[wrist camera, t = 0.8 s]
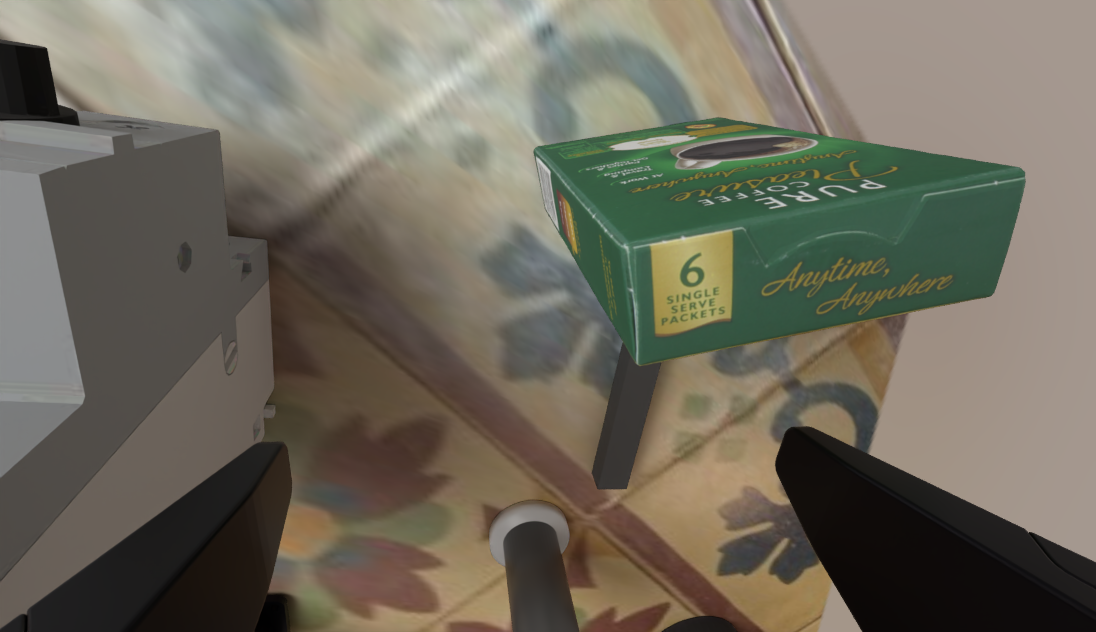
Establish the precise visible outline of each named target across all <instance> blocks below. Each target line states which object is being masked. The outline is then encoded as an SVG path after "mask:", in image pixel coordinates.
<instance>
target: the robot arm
mask: <svg viewBox="0 0 1096 632" xmlns="http://www.w3.org/2000/svg"><path fill="white" fill-rule="evenodd" d="M775 467H776V472H777V475H778V477H779V479H780V481H781V483H782V485H783V487H784V490H785V492H786V494H787V496H788V498H789V500H790V502H791V504H792V506H793V508H794V511H795V513H796V515H797V517H798V519H799V521H800V523H801V525H802V527H803V529H804V531H805V534H806V536H807V538H808V540H809V541H810V543H811V545H812V547H813V549H814V551H815V553H816V554H817V556H818V558H819V560H820V561H821V563H822V565H823V566H824V568H825V570H826V571H827V573H828V575H829V576H830V578H831V580H832V581H833V583H834V585H835V586H836V588H837V590H838V592H839V593H840V595H841V597H842V598H843V600H844V602H845V603H846V605H847V607H848V608H849V610H850V612H851V613H852V615H853V617H854V619H855V620H856V622H857V623H858V625H859V627H860V629H861V630H862V632H1096V562H1094V561H1092V560H1090V559H1088V558H1086V557H1083V556H1081V555H1079V554H1077V553H1075V552H1073V551H1070V550H1068V549H1066V548H1064V547H1062V546H1060V545H1057V544H1056V543H1053V542H1051V541H1049V540H1047V539H1045V538H1043V537H1041V536H1039V535H1037V534H1035V533H1032V532H1029V533H1028V532H1027V531H1026V530H1025V529H1024V528H1022V527H1020V526H1018V525H1016V524H1013V523H1011V522H1009V521H1007V520H1005V519H1003V518H1001V517H999V516H997V515H995V514H993V513H990V512H988V511H986V510H984V509H982V508H980V507H978V506H976V505H974V504H971V503H969V502H967V501H965V500H963V499H961V498H959V497H957V496H955V495H953V494H950V493H949V492H946V491H944V490H942V489H940V488H938V487H936V486H934V485H932V484H930V483H927V482H926V481H923V480H921V479H919V478H917V477H915V476H913V475H911V474H909V473H907V472H905V471H903V470H900V469H898V468H896V467H894V466H892V465H890V464H888V463H886V462H884V461H881V460H880V459H877V458H875V457H873V456H871V455H869V454H867V453H865V452H863V451H861V450H859V449H856V448H854V447H852V446H850V445H848V444H846V443H844V442H842V441H840V440H838V439H836V438H833V437H831V436H829V435H827V434H825V433H823V432H821V431H819V430H817V429H815V428H812V427H808V426H802V427H791V428H789V429H788V430H787V431H786V432H785V434H784V437H783V440H782V443H781V446H780V449H779V452H778V455H777V457H776V461H775ZM291 493H292V478H291V471H290V463H289V456H288V449H287V446H286V444H285V443H283V442H258V443H256V444H254V445H252V446H251V447H250V448H248V449H247V450H245V451H244V452H243V453H241V454H240V455H239V456H237V457H236V458H234V459H233V460H232V461H230V462H229V463H228V464H226V465H225V466H223V467H222V468H221V469H219V470H218V471H217V472H215V473H214V474H212V475H211V476H210V477H208V478H207V479H206V480H204V481H203V482H201V483H200V484H199V485H197V486H196V487H195V488H193V489H192V490H190V491H189V492H188V493H186V494H185V495H184V496H182V497H181V498H179V499H178V500H177V501H175V502H174V503H173V504H171V505H170V506H168V507H167V508H166V509H164V510H163V511H162V512H160V513H159V514H157V515H156V516H155V517H153V518H152V519H151V520H149V521H148V522H146V523H145V524H144V525H142V526H141V527H140V528H138V529H137V530H135V531H134V532H133V533H131V534H130V535H129V536H127V537H126V538H124V539H123V540H122V541H120V542H119V543H118V544H116V545H115V546H113V547H112V548H111V549H109V550H108V551H107V552H105V553H104V554H102V555H101V556H100V557H98V558H97V559H96V560H94V561H93V562H91V563H90V564H89V565H87V566H86V567H85V568H83V569H82V570H80V571H79V572H78V573H76V574H75V575H74V576H72V577H71V578H69V579H68V580H67V581H65V582H64V583H63V584H61V585H60V586H58V587H57V588H56V589H54V590H53V591H52V592H50V593H49V594H47V595H46V596H45V597H43V598H42V599H40V600H39V601H38V602H36V603H35V604H34V605H32V606H31V607H30V608H29V609H28V610H27V615H26V614H20V615H18V616H17V617H15V618H14V619H13V620H11V621H10V622H9V623H7V624H6V625H4V626H3V627H2V628H0V632H290V625H289V615H288V606H287V599H286V598H285V597H284V596H281V595H267V593H268V590H269V586H270V582H271V579H272V575H273V571H274V566H275V562H276V558H277V554H278V549H279V545H280V541H281V537H282V532H283V528H284V524H285V520H286V515H287V511H288V507H289V503H290V498H291Z"/></svg>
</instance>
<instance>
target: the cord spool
mask: <svg viewBox="0 0 1096 632" xmlns="http://www.w3.org/2000/svg"><path fill="white" fill-rule="evenodd" d="M569 537H570V535H569V529H568V525H567V521H566V518H565V515H564V514H563V512H562V511H561V510H560V509H559V508H558V507H557V506H555V505H553V504H551V503H549V502H545V501H540V500H528V501H522V502H519V503H516V504H513V505H511V506H509V507H507V508H506V509H504V510H503V511H501V512H500V513H499V514H498V515H497V516H496V517H495V519H494V520H493V522H492V524H491V526H490V530H489V541H490V550H491V553H492V556H493V557H494V559H495V560H496V561H497V562H498V563H500V564H501V565H503V566H505V568H506V577H507V586H508V594H509V603H510V612H511V621H512V630H513V632H579V627H578V623H577V619H576V615H575V610H574V606H573V602H572V597H571V593H570V589H569V585H568V580H567V576H566V572H565V567H564V563H563V559H562V555H561V554H562V553H563V552H564V550H565V549H566V547H567V545H568V542H569Z"/></svg>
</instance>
